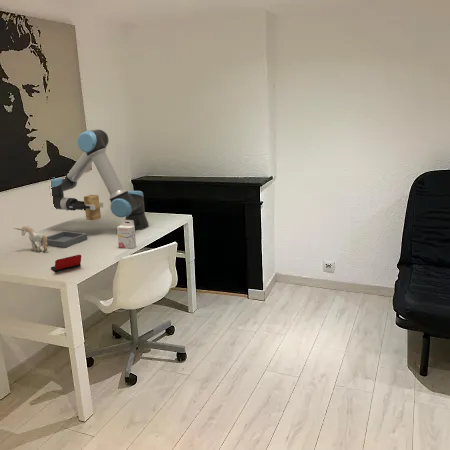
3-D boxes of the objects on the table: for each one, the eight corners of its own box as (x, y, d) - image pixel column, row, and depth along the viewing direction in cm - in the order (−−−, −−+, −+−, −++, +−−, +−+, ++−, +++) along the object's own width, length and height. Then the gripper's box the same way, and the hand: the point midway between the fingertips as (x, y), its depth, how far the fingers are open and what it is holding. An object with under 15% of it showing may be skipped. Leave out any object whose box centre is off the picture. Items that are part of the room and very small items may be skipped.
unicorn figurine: (25, 247, 273) (21, 224, 270) (55, 249, 268) (52, 225, 265) (16, 251, 267) (13, 228, 263) (47, 253, 261) (44, 229, 258)
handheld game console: (75, 263, 243) (74, 249, 242) (83, 268, 235) (81, 254, 233) (50, 269, 236) (48, 254, 235) (57, 275, 228) (55, 260, 226)
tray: (87, 239, 284) (86, 233, 283) (64, 248, 269) (63, 242, 268) (64, 236, 292) (64, 231, 292) (41, 244, 277) (40, 239, 276)
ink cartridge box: (118, 247, 265) (115, 221, 262) (123, 245, 270) (120, 219, 266) (132, 248, 262) (129, 222, 259) (136, 246, 267) (134, 220, 263)
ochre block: (100, 218, 293) (98, 195, 289) (94, 220, 288) (91, 197, 284) (93, 217, 295) (90, 194, 292) (86, 219, 290) (83, 196, 287)
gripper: (81, 206, 307) (110, 209, 296) (58, 213, 291) (88, 216, 280) (80, 195, 305) (108, 196, 294) (57, 201, 289) (86, 203, 278)
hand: (98, 206), depth 287 cm, fingers closed on ochre block, 6 cm apart
